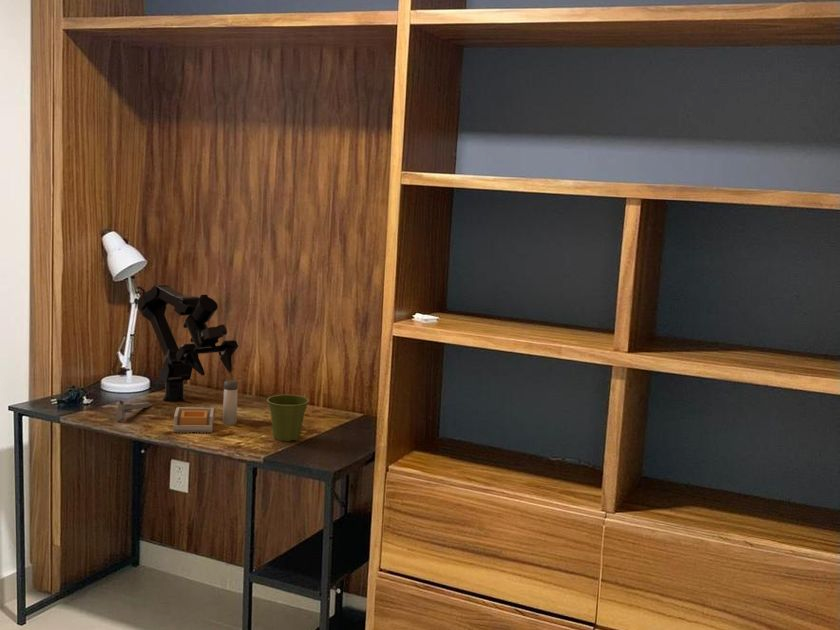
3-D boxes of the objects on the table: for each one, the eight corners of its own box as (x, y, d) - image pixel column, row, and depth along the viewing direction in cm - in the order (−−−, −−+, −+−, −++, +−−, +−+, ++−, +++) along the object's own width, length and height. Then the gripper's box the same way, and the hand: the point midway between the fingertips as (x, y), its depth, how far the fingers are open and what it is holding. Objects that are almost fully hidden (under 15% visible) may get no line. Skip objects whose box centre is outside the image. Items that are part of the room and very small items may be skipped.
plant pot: (263, 432, 246) (265, 394, 244) (304, 432, 249) (306, 394, 247) (266, 444, 234) (268, 404, 233) (309, 444, 237) (311, 404, 236)
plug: (222, 421, 254) (224, 380, 252) (236, 421, 255) (237, 380, 253) (222, 424, 250) (223, 383, 248) (236, 424, 251) (237, 383, 249)
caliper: (120, 422, 246) (120, 401, 246) (116, 422, 247) (117, 401, 246) (152, 406, 267) (152, 386, 266) (148, 405, 267) (149, 386, 266)
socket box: (176, 422, 250) (176, 407, 249) (213, 422, 252) (213, 407, 251) (173, 432, 239) (173, 417, 239) (212, 432, 242) (212, 417, 241)
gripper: (181, 317, 251) (199, 361, 245) (236, 314, 264) (254, 355, 258) (167, 339, 257) (185, 382, 251) (221, 334, 270) (239, 375, 264)
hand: (217, 373), depth 256 cm, fingers open, 9 cm apart
